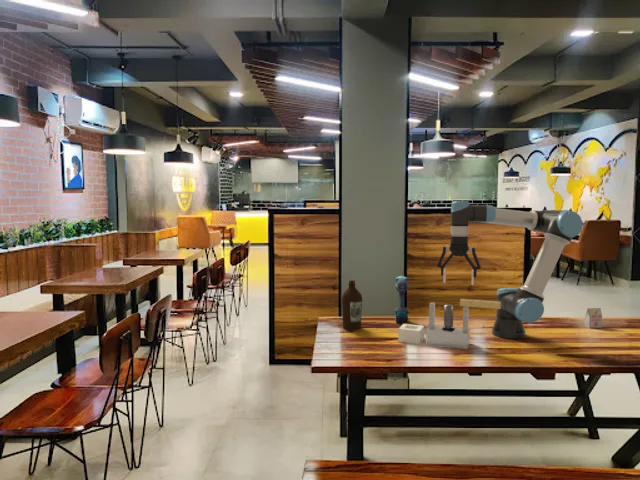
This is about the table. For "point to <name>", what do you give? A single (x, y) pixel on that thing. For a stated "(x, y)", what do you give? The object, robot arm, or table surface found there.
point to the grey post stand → (448, 332)
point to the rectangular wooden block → (480, 303)
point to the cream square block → (411, 333)
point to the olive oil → (351, 307)
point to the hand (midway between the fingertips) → (458, 283)
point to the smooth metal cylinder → (448, 317)
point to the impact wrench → (401, 299)
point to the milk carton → (593, 318)
